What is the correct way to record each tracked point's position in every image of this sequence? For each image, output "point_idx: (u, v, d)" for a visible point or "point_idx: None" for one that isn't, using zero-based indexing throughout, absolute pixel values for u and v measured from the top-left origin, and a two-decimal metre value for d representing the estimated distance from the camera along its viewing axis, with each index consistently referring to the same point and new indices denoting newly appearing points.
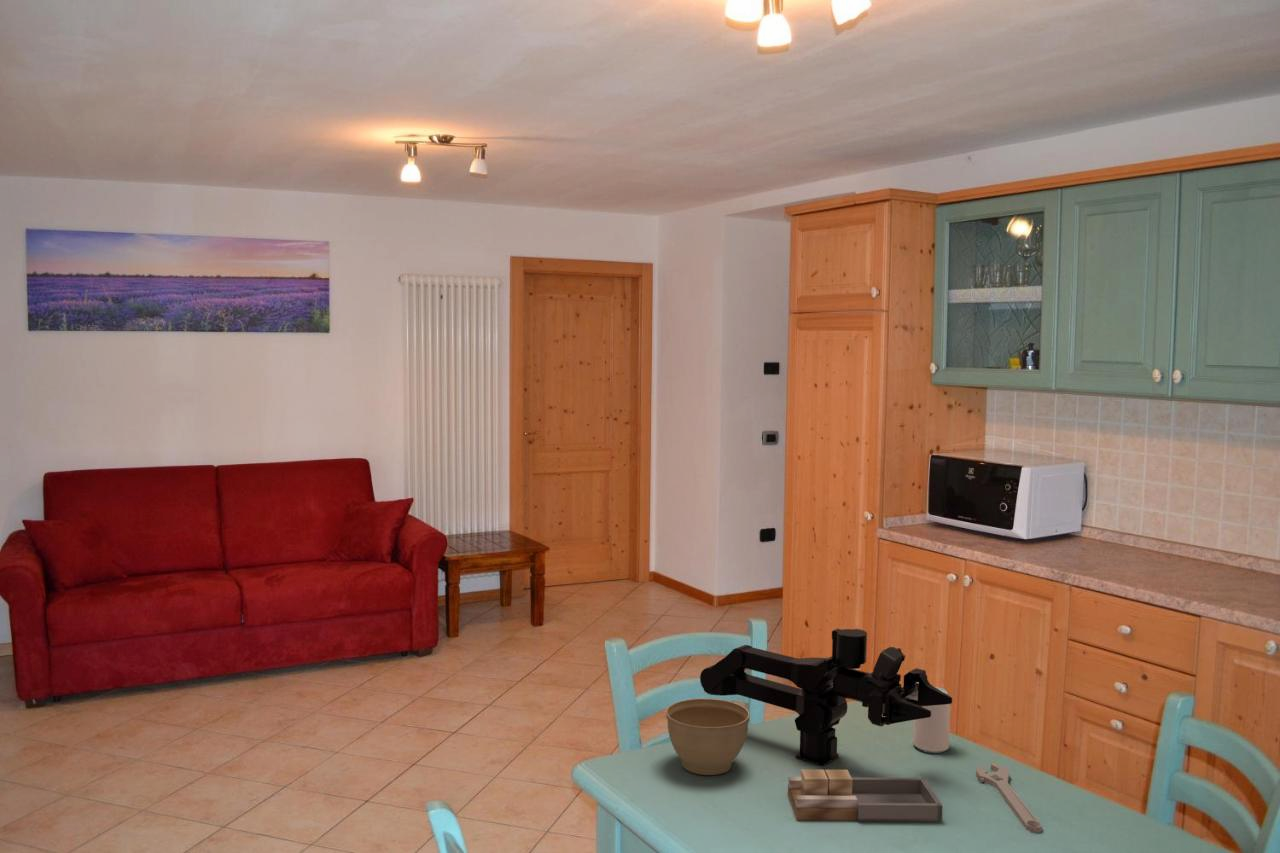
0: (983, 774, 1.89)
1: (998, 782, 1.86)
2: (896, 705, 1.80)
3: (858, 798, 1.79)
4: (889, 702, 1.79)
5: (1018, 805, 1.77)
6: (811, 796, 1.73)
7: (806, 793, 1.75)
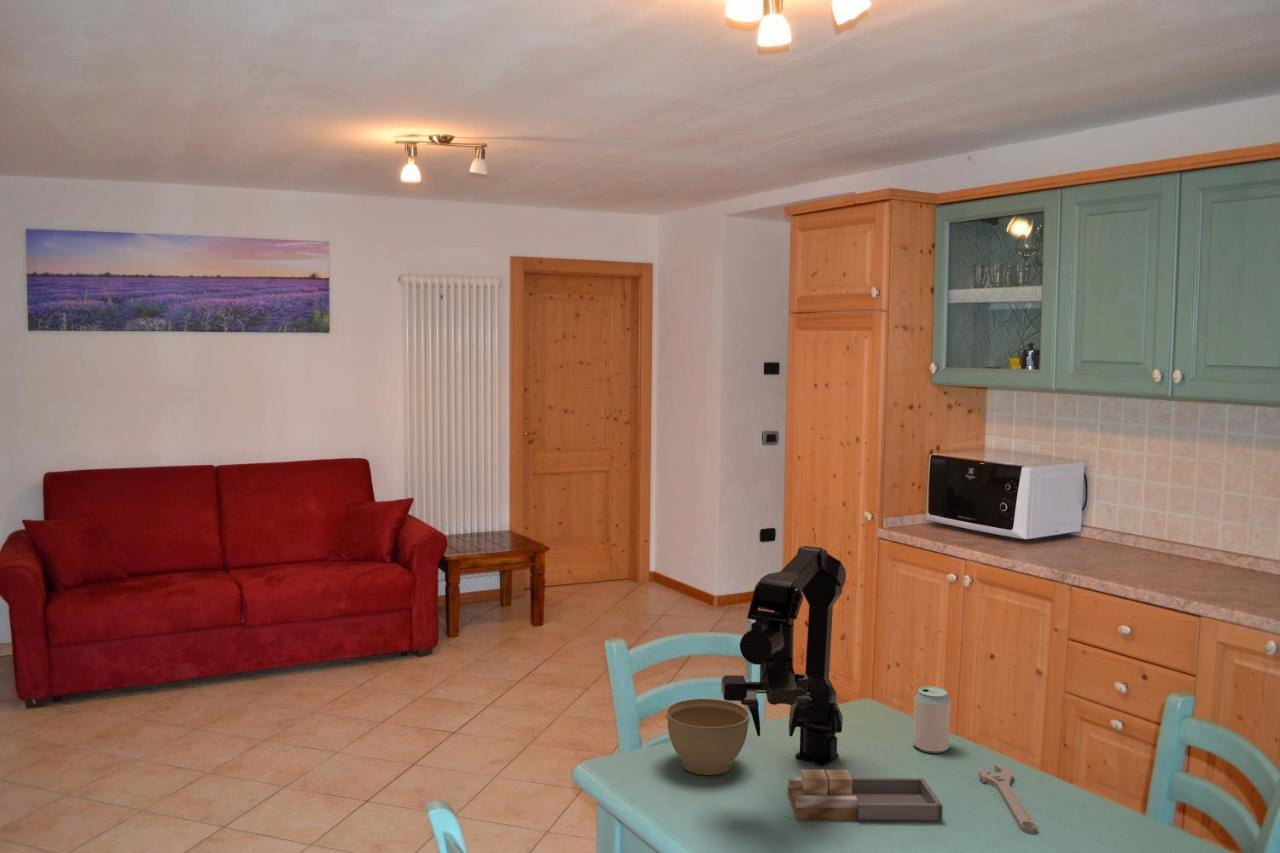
0: (985, 775, 1.89)
1: (999, 783, 1.85)
2: None
3: (858, 798, 1.79)
4: None
5: (1016, 806, 1.77)
6: (811, 796, 1.73)
7: (806, 793, 1.75)
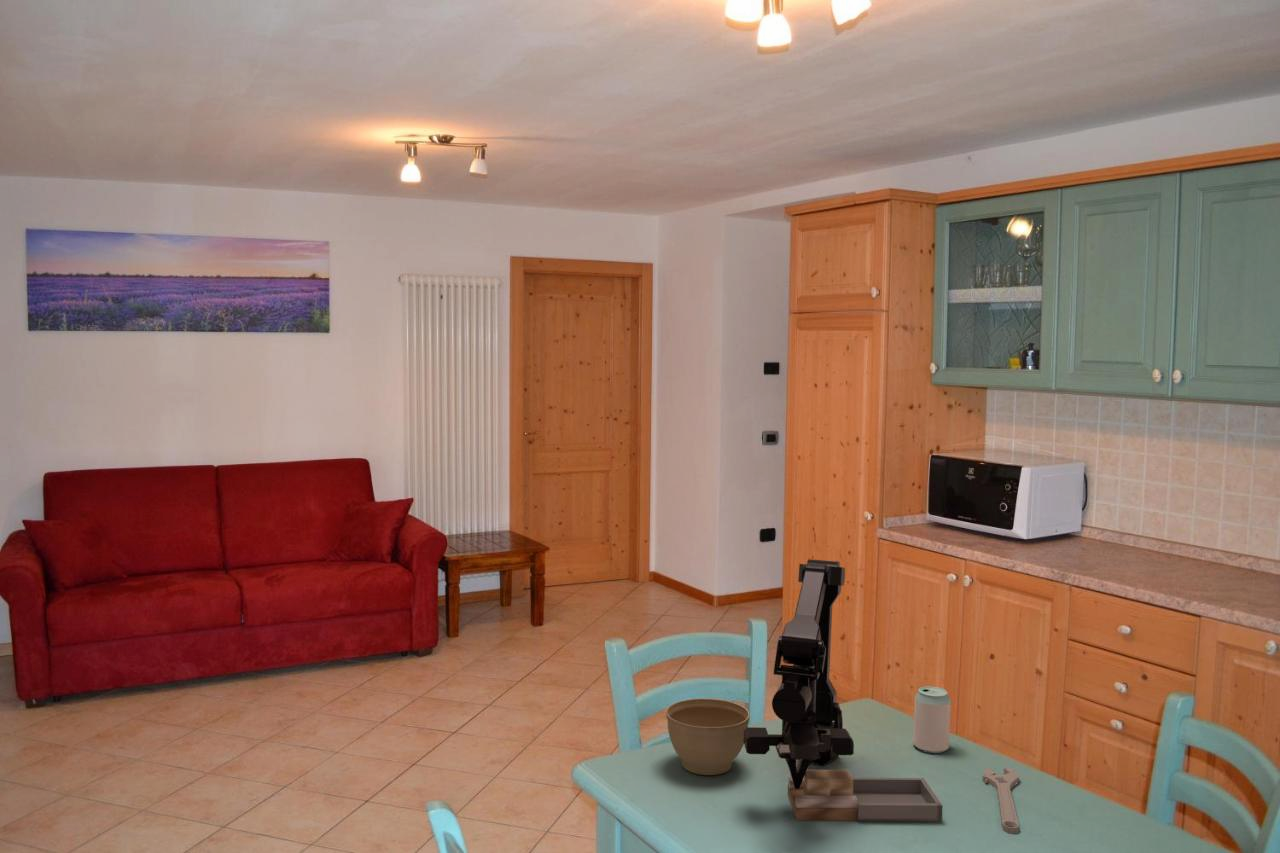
0: (989, 775, 1.88)
1: (1000, 784, 1.85)
2: None
3: (858, 798, 1.79)
4: None
5: (1007, 806, 1.76)
6: (811, 796, 1.73)
7: (809, 793, 1.75)
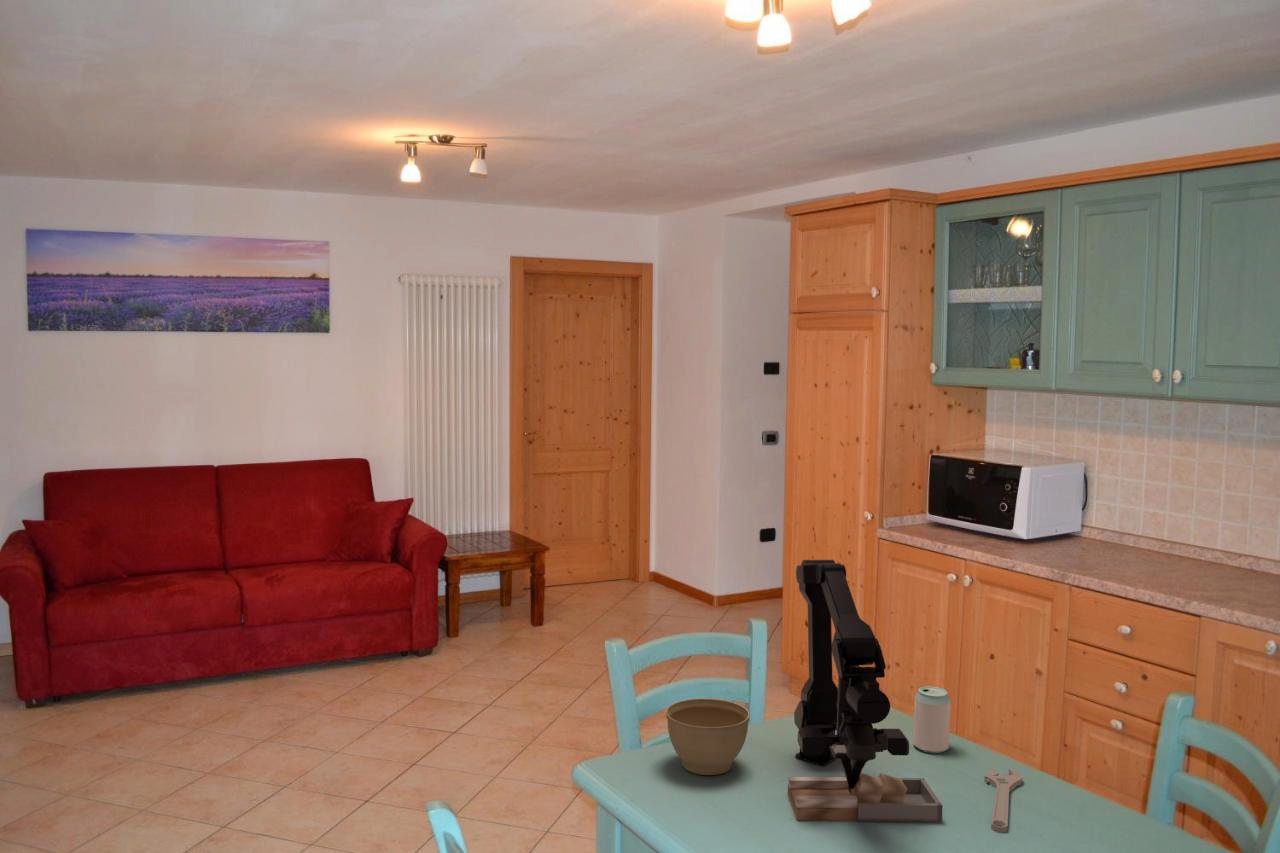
0: (991, 776, 1.88)
1: (1000, 785, 1.85)
2: None
3: None
4: None
5: (1001, 806, 1.76)
6: (811, 796, 1.73)
7: (859, 795, 1.75)
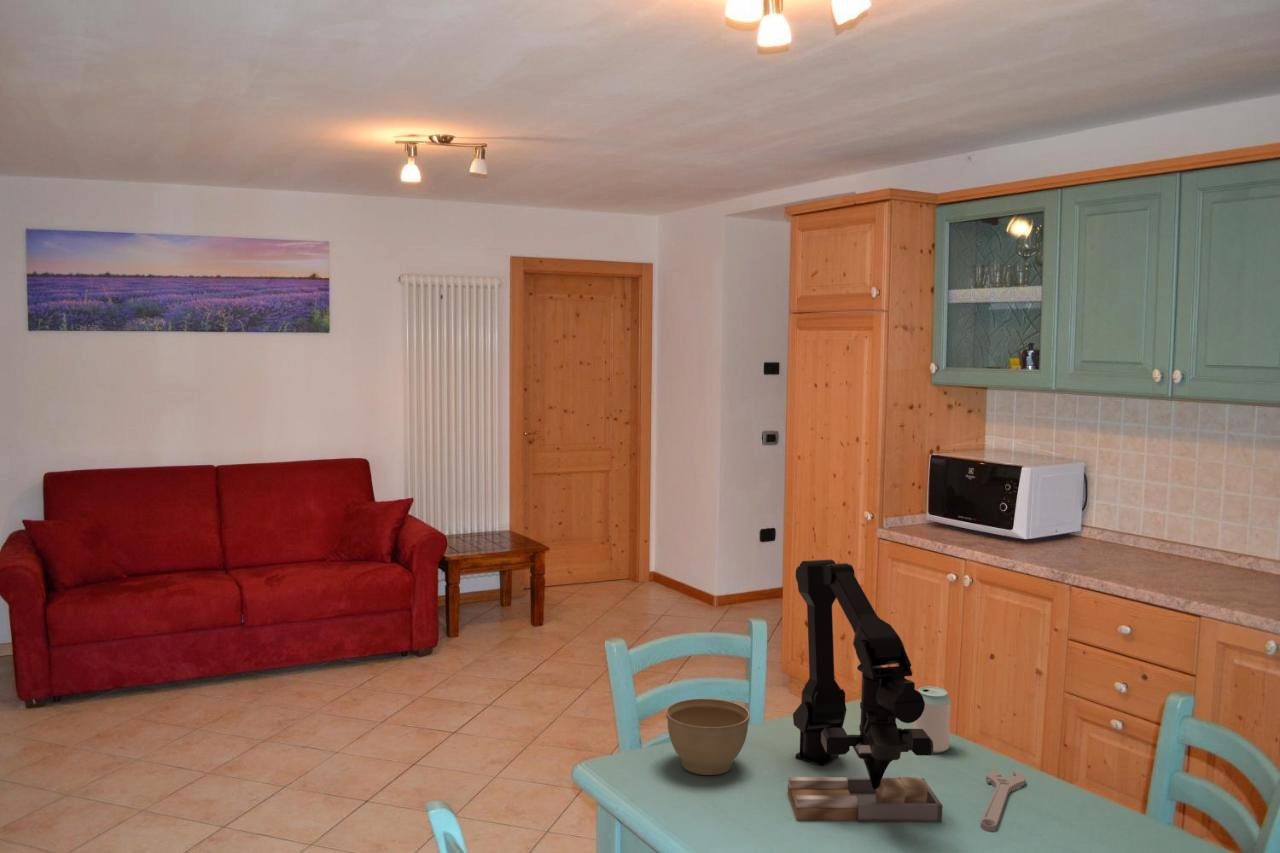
0: (993, 776, 1.88)
1: (1000, 785, 1.84)
2: None
3: (858, 798, 1.79)
4: None
5: (995, 806, 1.76)
6: (811, 796, 1.73)
7: (883, 801, 1.75)
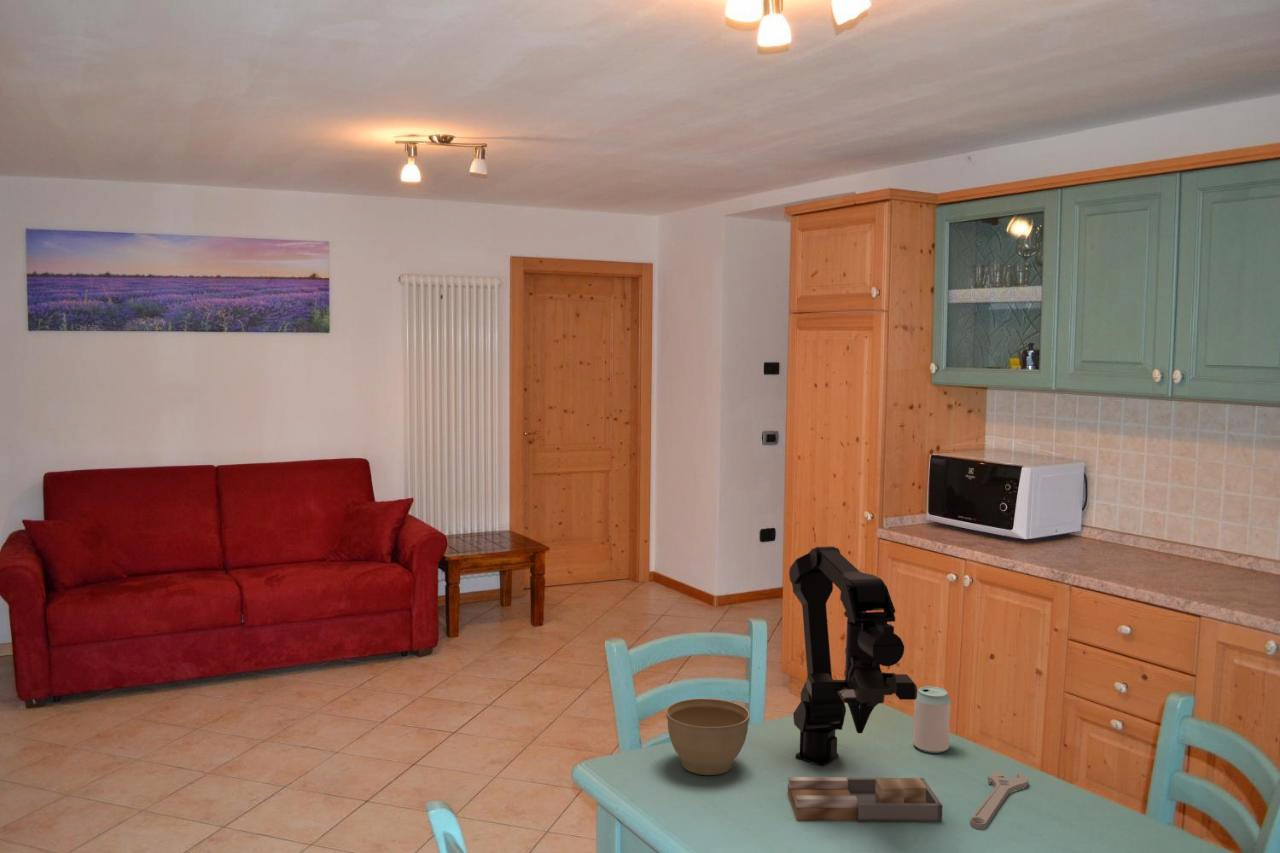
0: (994, 777, 1.88)
1: (999, 786, 1.84)
2: None
3: (858, 798, 1.79)
4: None
5: (989, 805, 1.77)
6: (811, 796, 1.73)
7: None
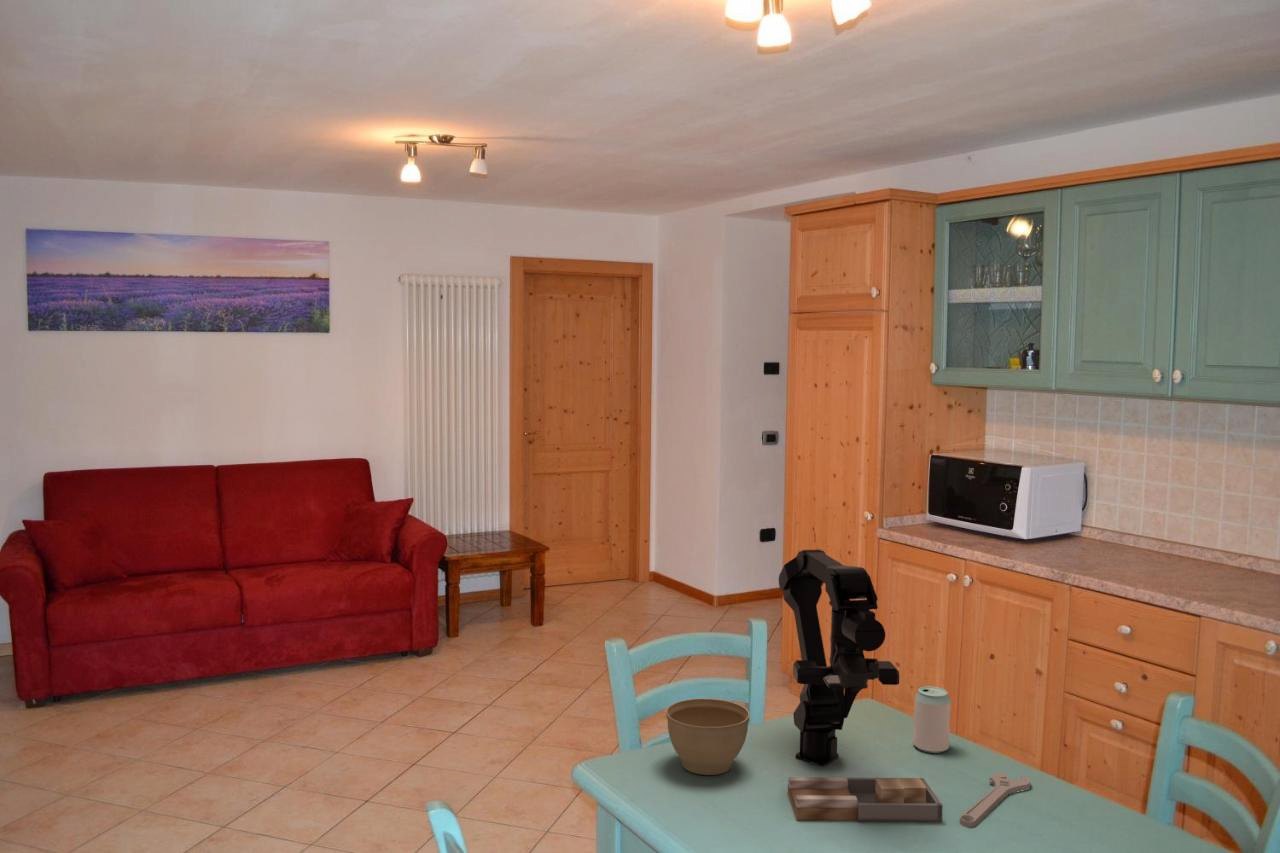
0: (996, 777, 1.88)
1: (999, 786, 1.84)
2: None
3: (858, 798, 1.79)
4: None
5: (983, 805, 1.77)
6: (811, 796, 1.73)
7: None
